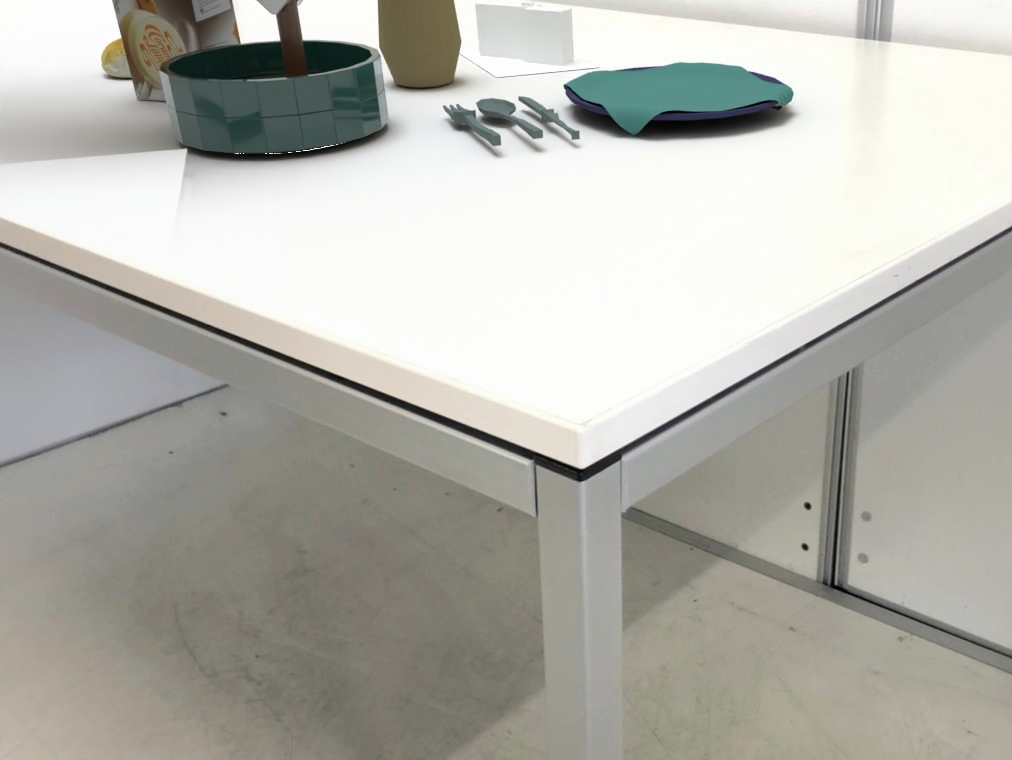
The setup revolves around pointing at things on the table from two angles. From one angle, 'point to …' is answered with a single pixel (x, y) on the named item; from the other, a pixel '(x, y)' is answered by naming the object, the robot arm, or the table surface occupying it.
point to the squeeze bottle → (419, 41)
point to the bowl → (274, 97)
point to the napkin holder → (524, 39)
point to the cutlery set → (645, 97)
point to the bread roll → (115, 60)
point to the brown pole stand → (292, 41)
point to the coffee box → (170, 35)
